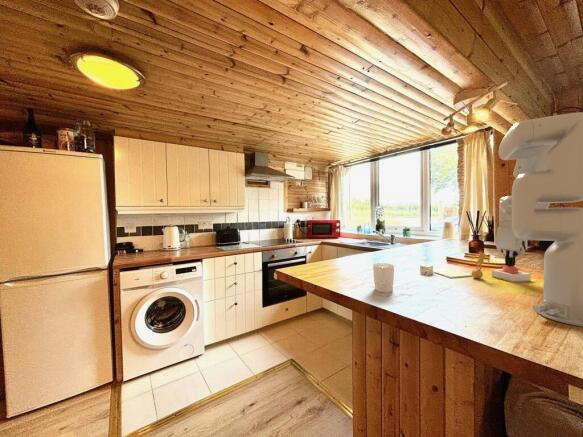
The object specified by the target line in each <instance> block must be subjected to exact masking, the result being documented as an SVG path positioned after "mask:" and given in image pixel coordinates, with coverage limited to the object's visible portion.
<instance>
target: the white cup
mask: <svg viewBox="0 0 583 437" xmlns="http://www.w3.org/2000/svg"><path fill="white" fill-rule="evenodd" d="M372 269H373V270H372V271H373V272H372V273H373V282H374V289H375V291H377V292H379V293H387V294H388V293H392V292H393V290H394V281H395V280H394V276H395V274H394V272H395V265H393V264H391V263H383V262H380V263H379V262H377V263H373V264H372Z"/></svg>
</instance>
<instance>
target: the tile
mask: <svg viewBox="0 0 583 437" xmlns="http://www.w3.org/2000/svg"><path fill="white" fill-rule="evenodd" d="M433 274H437V275H440V276H442V277H445V278H448V279H458V278H468V277H470V278H471V277H473V276H472V273H471V274H470V273H467V272H463V271H460V270H456V269H453V268H446V269H445V268H444V269H433Z"/></svg>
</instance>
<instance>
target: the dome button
mask: <svg viewBox="0 0 583 437" xmlns="http://www.w3.org/2000/svg"><path fill="white" fill-rule="evenodd" d="M502 269H503V272H505V273H510V274H518V271H519V267H515V266H507V265H505V266H502Z"/></svg>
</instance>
